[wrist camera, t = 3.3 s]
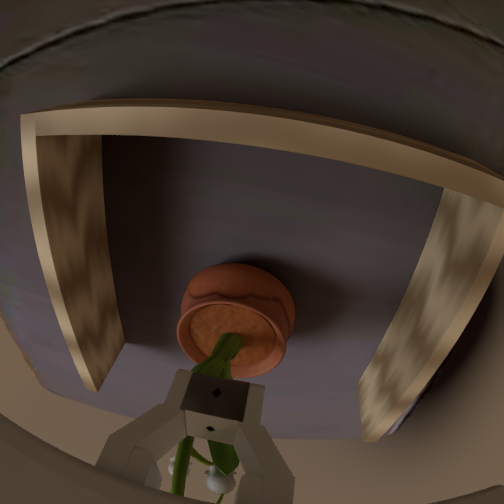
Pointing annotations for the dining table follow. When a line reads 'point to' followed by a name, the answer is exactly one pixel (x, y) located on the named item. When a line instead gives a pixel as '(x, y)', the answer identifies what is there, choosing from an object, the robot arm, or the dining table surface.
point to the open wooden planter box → (275, 137)
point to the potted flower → (230, 347)
